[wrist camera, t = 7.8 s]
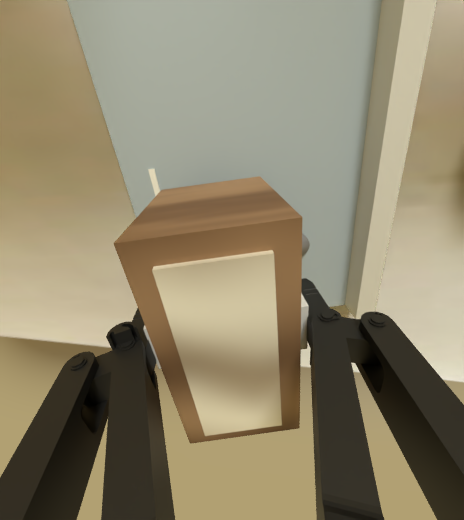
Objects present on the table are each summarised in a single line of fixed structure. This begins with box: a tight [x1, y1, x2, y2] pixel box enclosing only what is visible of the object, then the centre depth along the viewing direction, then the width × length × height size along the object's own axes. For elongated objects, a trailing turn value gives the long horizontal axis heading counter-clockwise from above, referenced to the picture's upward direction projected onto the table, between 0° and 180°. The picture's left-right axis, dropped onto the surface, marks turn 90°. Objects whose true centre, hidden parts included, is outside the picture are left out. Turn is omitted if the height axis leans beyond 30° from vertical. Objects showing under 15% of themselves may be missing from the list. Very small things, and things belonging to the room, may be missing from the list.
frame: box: [114, 176, 302, 443], centre depth 14 cm, size 12×6×8 cm, turn 7°
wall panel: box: [67, 0, 437, 319], centre depth 17 cm, size 24×18×3 cm
